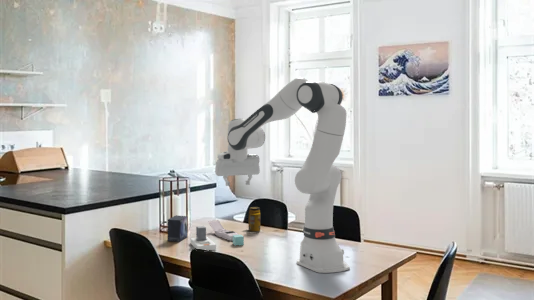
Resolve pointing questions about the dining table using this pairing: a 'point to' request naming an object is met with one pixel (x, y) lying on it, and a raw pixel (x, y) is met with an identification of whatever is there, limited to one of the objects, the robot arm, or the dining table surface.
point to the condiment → (254, 220)
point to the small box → (177, 228)
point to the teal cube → (238, 240)
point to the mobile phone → (222, 230)
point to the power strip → (203, 244)
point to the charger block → (200, 233)
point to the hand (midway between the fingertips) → (237, 185)
